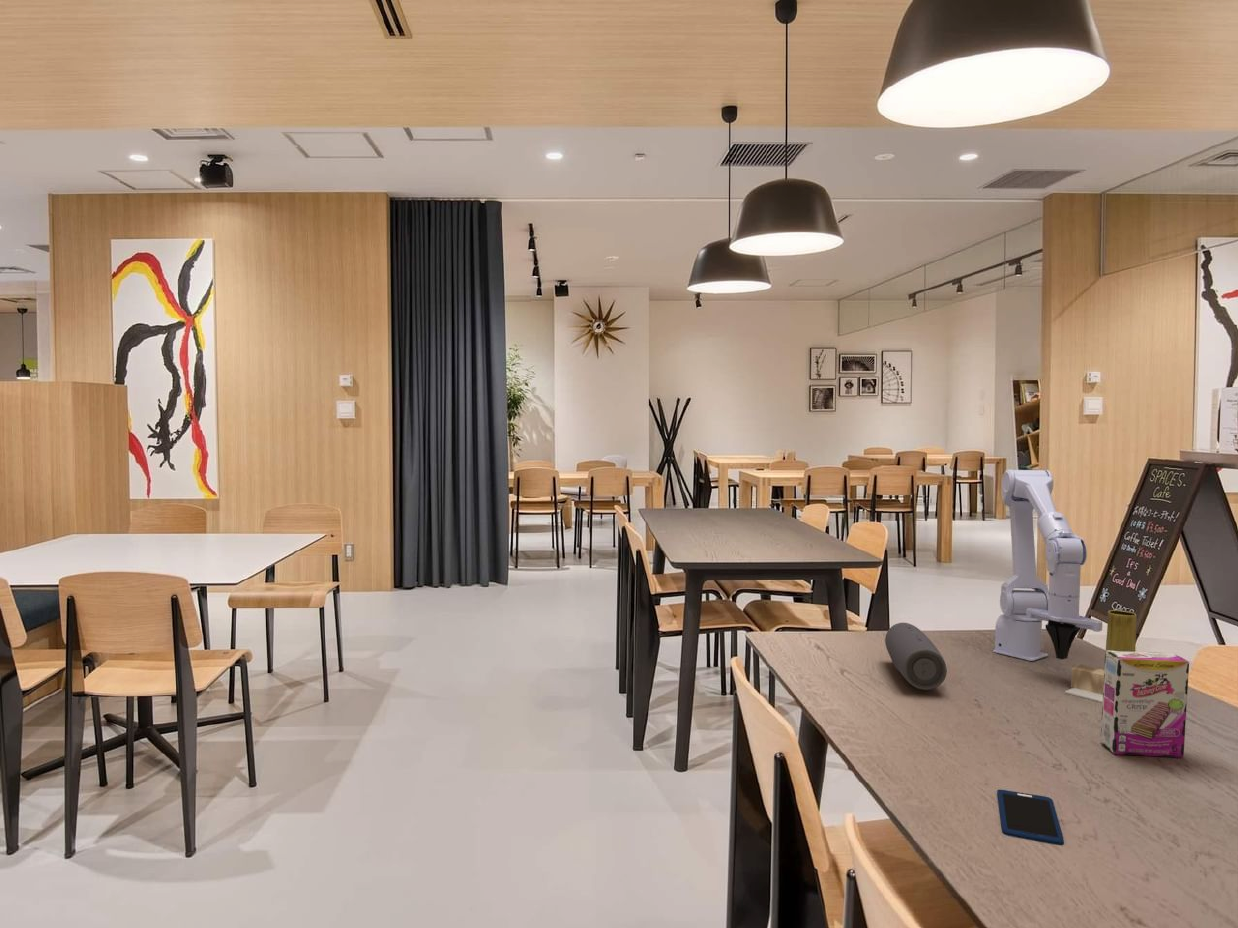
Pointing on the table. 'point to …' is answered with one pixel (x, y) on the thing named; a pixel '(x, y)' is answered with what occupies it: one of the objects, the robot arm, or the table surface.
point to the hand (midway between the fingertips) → (1061, 657)
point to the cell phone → (1029, 817)
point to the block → (1087, 679)
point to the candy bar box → (1144, 703)
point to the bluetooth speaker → (915, 656)
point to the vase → (1121, 631)
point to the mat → (1085, 694)
